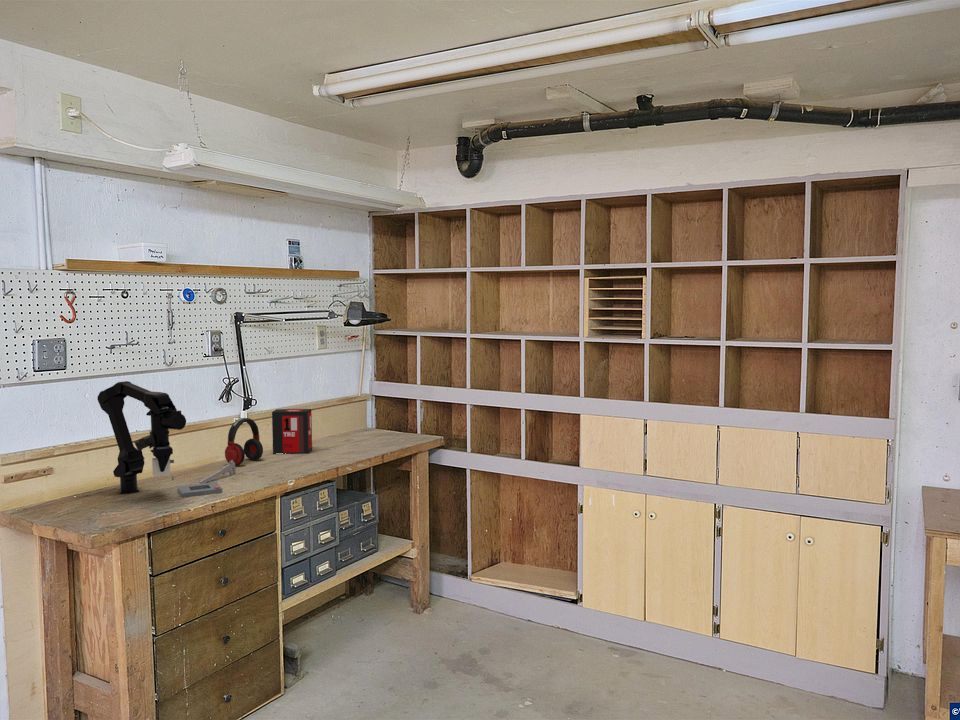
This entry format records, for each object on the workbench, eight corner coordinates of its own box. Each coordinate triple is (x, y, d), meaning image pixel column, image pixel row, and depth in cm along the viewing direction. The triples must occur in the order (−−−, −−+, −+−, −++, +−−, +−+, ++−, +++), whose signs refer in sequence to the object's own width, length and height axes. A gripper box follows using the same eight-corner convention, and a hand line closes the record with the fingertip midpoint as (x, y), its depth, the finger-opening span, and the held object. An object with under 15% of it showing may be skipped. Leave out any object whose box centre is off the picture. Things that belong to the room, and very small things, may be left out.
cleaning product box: (273, 454, 339) (271, 411, 338) (277, 450, 348) (276, 409, 347) (308, 453, 340) (307, 411, 338) (312, 450, 349) (311, 408, 347)
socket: (177, 490, 272) (177, 484, 272) (216, 485, 279) (216, 480, 279) (182, 497, 262) (181, 491, 262) (222, 492, 269) (222, 486, 269)
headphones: (239, 468, 310) (238, 421, 309) (221, 466, 314) (220, 420, 313) (266, 459, 326) (265, 416, 325) (248, 458, 330) (247, 414, 329)
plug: (152, 474, 264) (152, 458, 264) (173, 472, 268) (172, 456, 267) (154, 476, 260) (153, 460, 260) (175, 474, 264) (174, 458, 263)
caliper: (233, 474, 299) (233, 459, 299) (235, 474, 299) (235, 459, 298) (196, 485, 281) (196, 469, 280) (198, 486, 280) (198, 470, 280)
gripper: (133, 426, 267) (134, 468, 268) (137, 433, 250) (139, 478, 252) (165, 423, 272) (167, 464, 273) (172, 431, 256) (173, 474, 257)
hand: (161, 470), depth 264 cm, fingers closed on plug, 4 cm apart
